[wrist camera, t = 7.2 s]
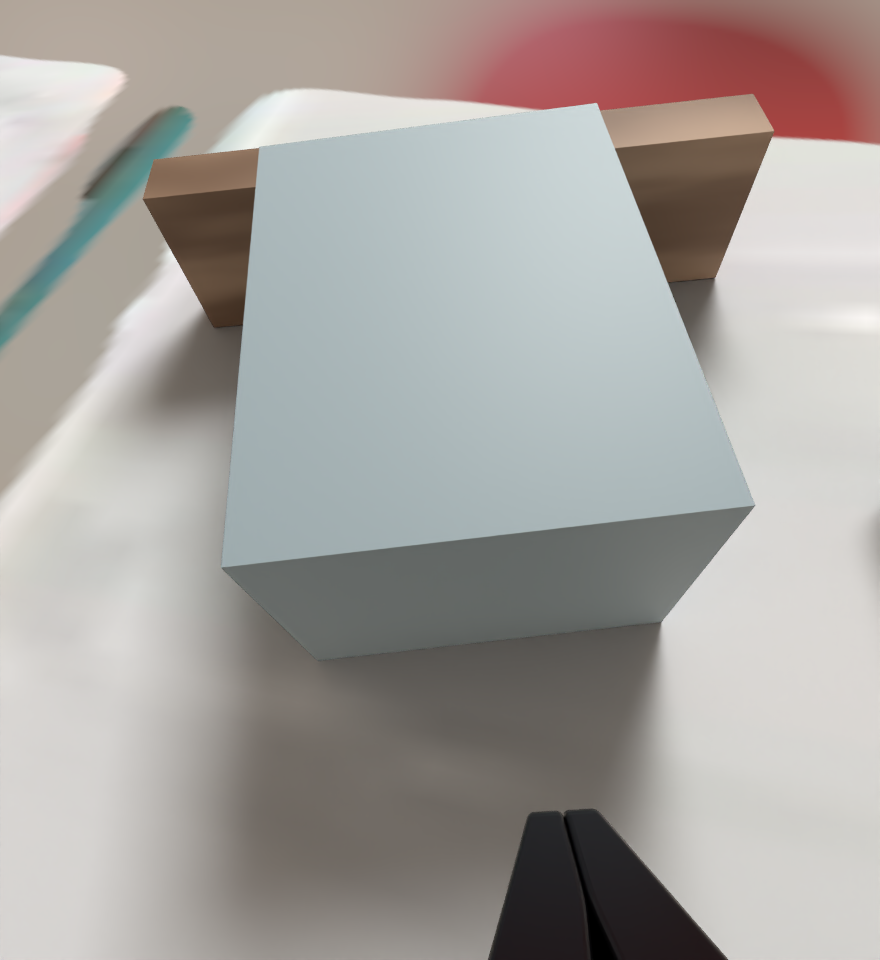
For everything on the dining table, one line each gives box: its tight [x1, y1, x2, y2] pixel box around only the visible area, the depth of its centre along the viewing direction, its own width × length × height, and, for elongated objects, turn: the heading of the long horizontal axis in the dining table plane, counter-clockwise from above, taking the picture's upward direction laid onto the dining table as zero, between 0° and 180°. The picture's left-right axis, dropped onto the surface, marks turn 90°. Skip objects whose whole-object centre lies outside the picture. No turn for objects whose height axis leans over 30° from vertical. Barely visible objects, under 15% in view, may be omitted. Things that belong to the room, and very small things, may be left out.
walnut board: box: [143, 94, 774, 328], centre depth 27 cm, size 2×24×7 cm, turn 93°
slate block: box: [221, 103, 755, 661], centre depth 22 cm, size 16×12×9 cm
